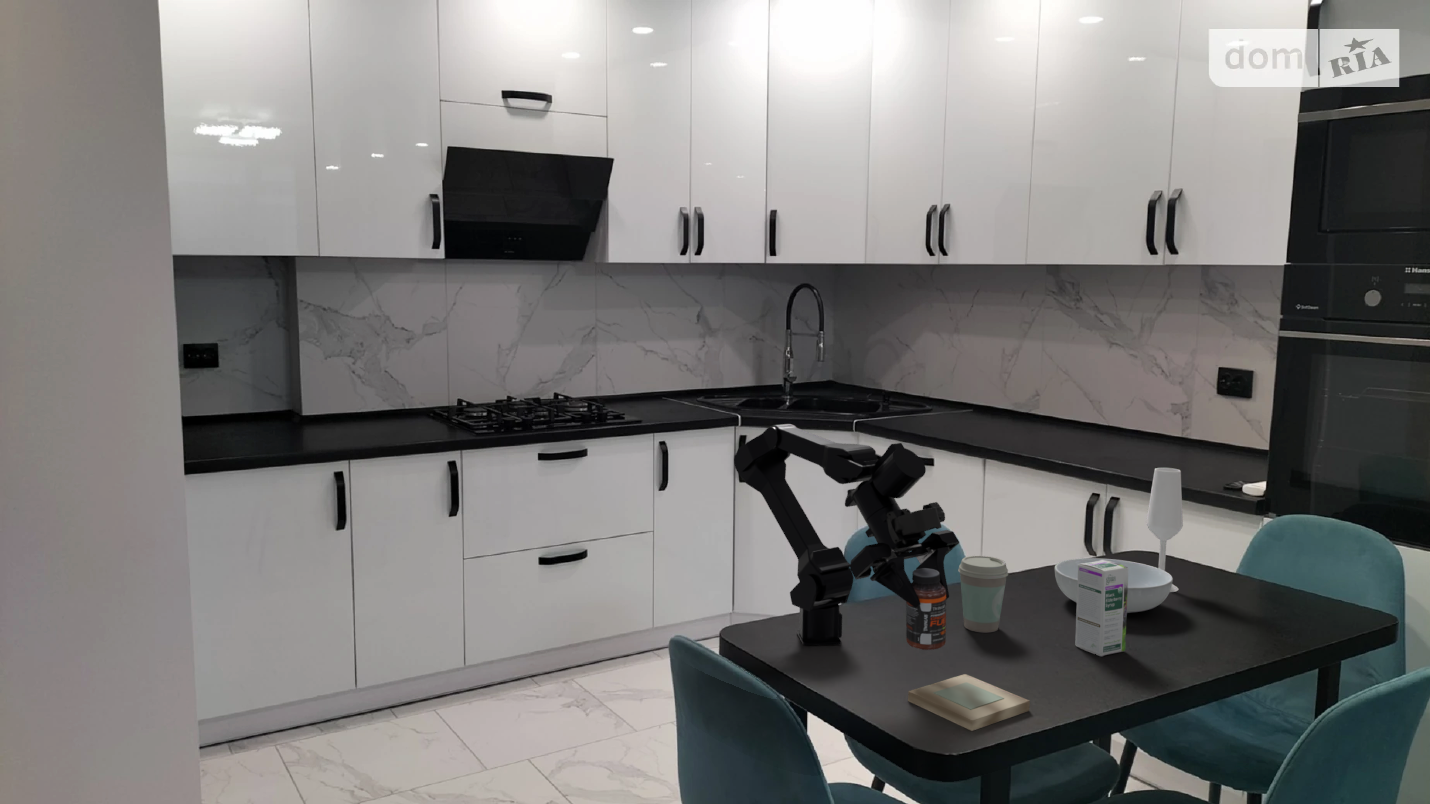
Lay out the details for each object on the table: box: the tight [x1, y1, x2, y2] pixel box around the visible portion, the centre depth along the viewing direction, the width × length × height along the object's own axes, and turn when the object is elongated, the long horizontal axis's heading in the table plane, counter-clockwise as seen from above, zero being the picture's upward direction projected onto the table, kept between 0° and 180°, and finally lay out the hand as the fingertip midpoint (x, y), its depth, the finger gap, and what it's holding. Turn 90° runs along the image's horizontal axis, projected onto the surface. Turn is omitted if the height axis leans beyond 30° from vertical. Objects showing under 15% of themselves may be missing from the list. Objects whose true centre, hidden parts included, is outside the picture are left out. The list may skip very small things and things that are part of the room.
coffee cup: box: [957, 555, 1009, 633], centre depth 181 cm, size 8×8×12 cm
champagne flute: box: [1145, 467, 1184, 593], centre depth 206 cm, size 7×7×24 cm
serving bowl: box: [1054, 557, 1174, 614], centre depth 194 cm, size 21×21×7 cm
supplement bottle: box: [905, 568, 947, 651], centre depth 154 cm, size 6×6×11 cm
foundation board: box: [907, 673, 1031, 732], centre depth 148 cm, size 12×12×2 cm
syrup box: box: [1074, 560, 1128, 657], centre depth 171 cm, size 6×6×14 cm
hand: (932, 602), depth 153 cm, fingers closed on supplement bottle, 6 cm apart
